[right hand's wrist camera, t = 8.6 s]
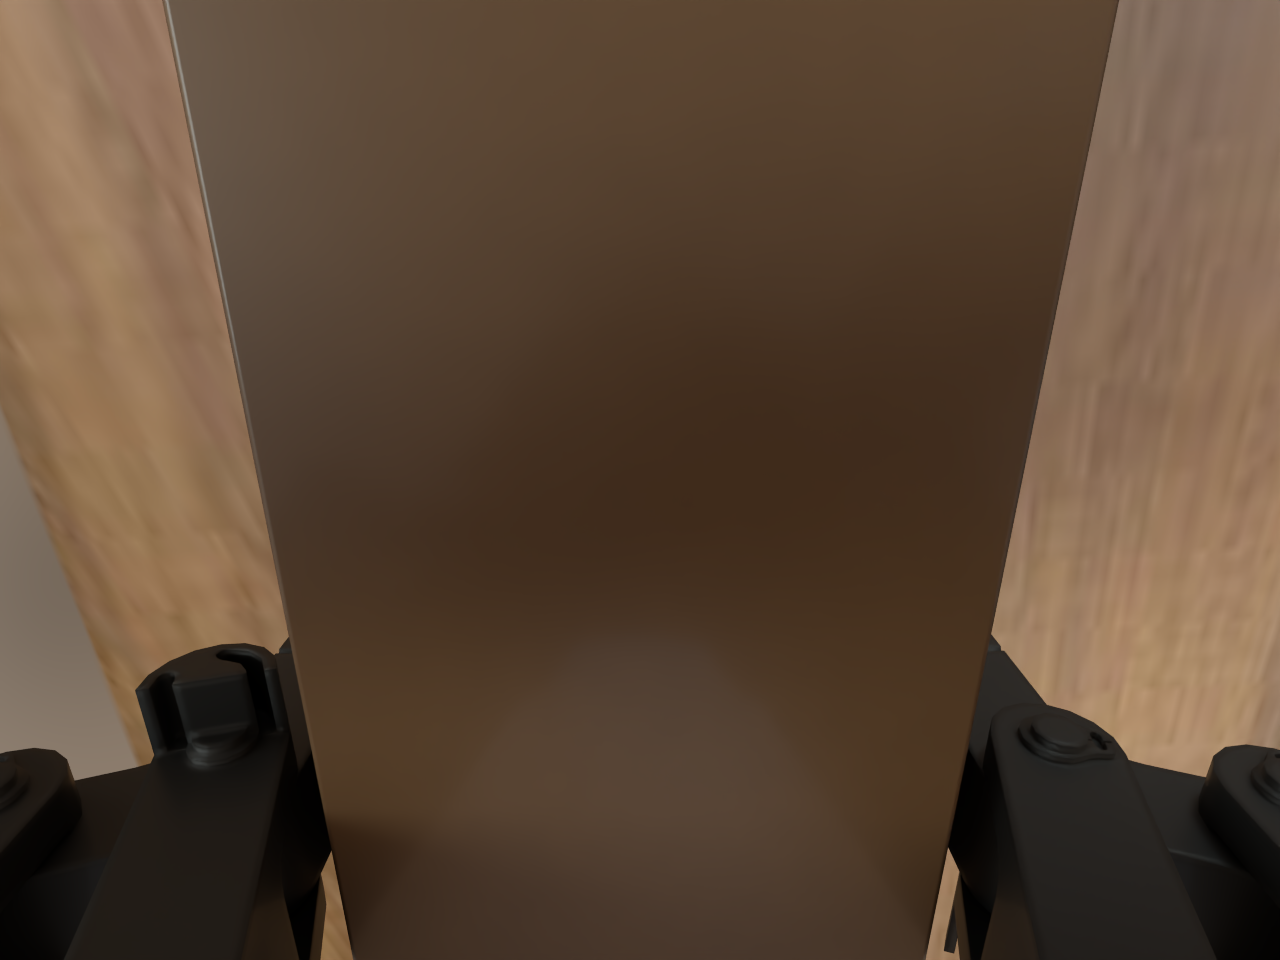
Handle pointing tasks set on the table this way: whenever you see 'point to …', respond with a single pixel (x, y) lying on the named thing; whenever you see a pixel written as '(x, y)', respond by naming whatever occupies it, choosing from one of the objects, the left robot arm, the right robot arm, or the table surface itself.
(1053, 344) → the table surface
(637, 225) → the bar
